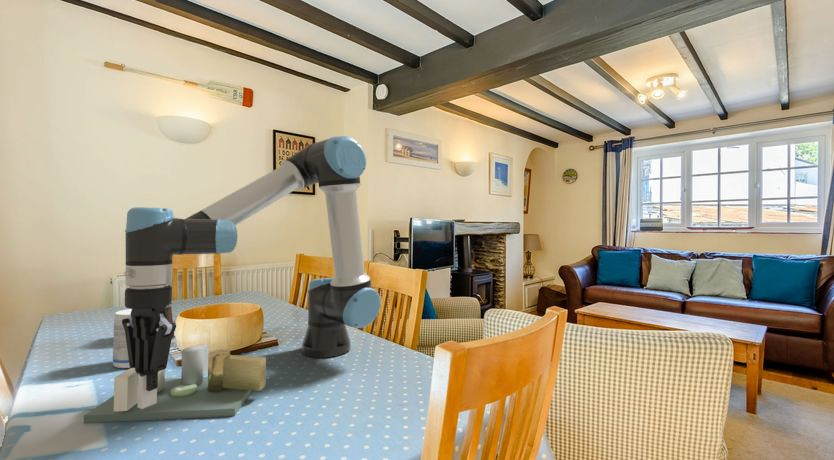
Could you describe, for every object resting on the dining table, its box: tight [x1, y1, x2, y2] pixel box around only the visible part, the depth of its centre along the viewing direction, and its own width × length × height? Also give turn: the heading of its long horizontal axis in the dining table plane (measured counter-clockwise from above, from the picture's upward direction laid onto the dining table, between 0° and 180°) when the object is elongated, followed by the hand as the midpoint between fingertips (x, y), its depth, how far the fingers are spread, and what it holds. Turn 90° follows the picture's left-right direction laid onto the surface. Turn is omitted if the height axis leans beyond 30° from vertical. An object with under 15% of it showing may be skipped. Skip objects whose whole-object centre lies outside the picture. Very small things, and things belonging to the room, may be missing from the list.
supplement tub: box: [112, 308, 132, 369], centre depth 103 cm, size 10×10×15 cm
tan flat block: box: [207, 349, 267, 392], centre depth 83 cm, size 4×13×8 cm, turn 83°
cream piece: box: [113, 368, 166, 411], centre depth 78 cm, size 4×13×8 cm, turn 8°
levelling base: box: [83, 344, 254, 424], centre depth 83 cm, size 28×19×10 cm
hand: (147, 405), depth 72 cm, fingers closed
